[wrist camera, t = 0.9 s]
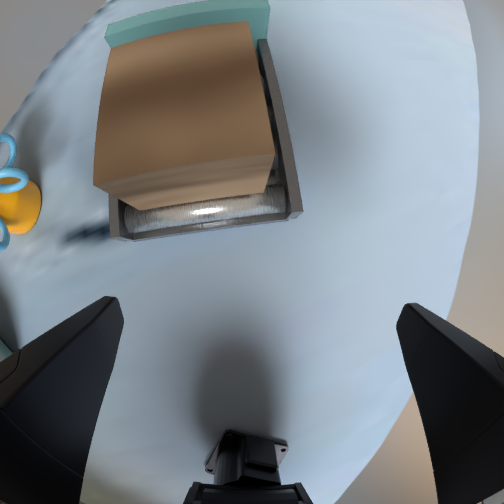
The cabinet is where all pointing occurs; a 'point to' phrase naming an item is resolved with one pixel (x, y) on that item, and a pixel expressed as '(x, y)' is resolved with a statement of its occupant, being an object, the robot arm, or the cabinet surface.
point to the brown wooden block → (183, 118)
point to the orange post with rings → (16, 198)
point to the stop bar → (192, 19)
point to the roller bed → (273, 178)
